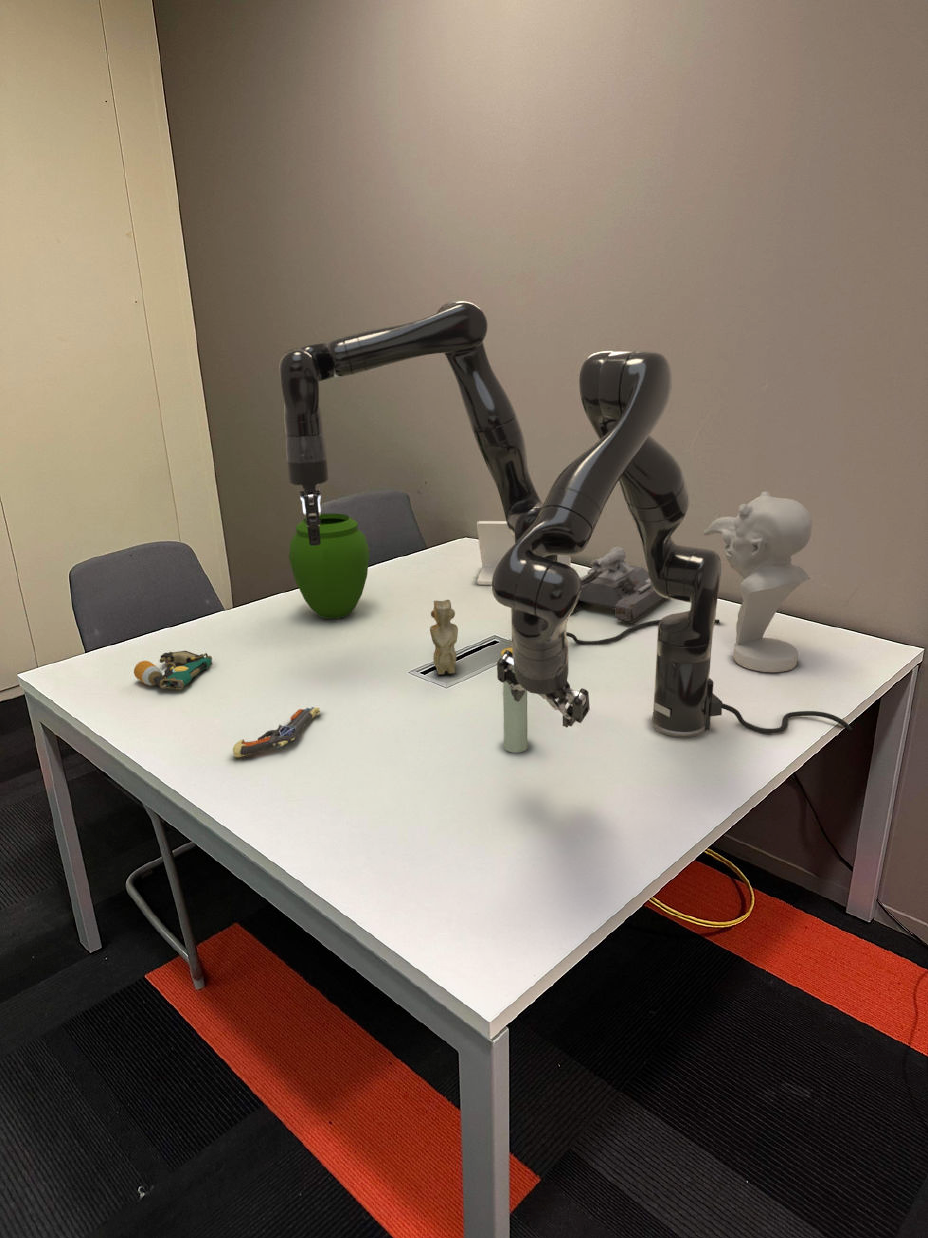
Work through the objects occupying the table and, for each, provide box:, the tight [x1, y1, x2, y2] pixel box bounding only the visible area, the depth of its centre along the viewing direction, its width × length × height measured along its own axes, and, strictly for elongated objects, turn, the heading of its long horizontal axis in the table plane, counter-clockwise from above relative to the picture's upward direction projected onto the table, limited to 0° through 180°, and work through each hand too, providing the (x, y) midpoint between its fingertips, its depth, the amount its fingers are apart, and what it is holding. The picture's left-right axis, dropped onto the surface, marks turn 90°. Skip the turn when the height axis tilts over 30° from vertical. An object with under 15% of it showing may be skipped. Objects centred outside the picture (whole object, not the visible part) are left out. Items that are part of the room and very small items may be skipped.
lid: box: [500, 646, 513, 657], centre depth 142 cm, size 5×5×2 cm
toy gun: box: [232, 706, 321, 758], centre depth 154 cm, size 3×19×10 cm
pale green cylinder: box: [502, 668, 528, 754], centre depth 145 cm, size 4×4×18 cm
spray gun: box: [133, 650, 213, 690], centre depth 180 cm, size 4×17×15 cm
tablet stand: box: [476, 520, 572, 586], centre depth 236 cm, size 18×25×17 cm
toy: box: [572, 546, 669, 624], centre depth 212 cm, size 25×20×15 cm
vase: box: [288, 512, 370, 620], centre depth 209 cm, size 20×20×24 cm
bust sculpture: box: [702, 491, 813, 673], centre depth 177 cm, size 16×24×35 cm, turn 28°
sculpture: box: [429, 599, 459, 675], centre depth 177 cm, size 6×7×15 cm
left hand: (314, 539), depth 170 cm, fingers open, 8 cm apart
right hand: (543, 709), depth 129 cm, fingers open, 8 cm apart
